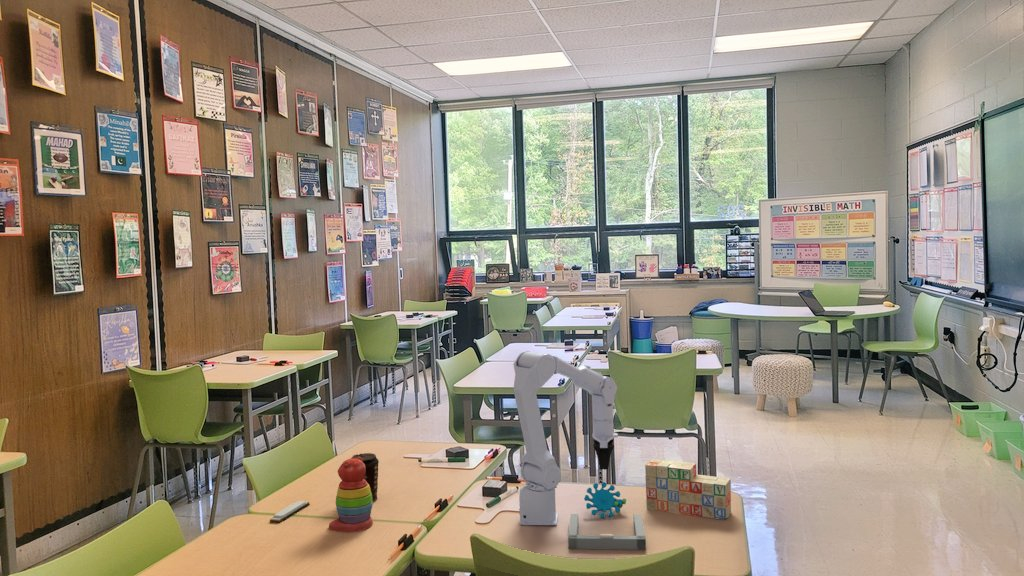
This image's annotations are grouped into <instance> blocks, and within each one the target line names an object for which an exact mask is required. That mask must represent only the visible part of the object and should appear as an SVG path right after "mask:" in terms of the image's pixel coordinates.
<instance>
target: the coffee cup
mask: <svg viewBox="0 0 1024 576" xmlns="http://www.w3.org/2000/svg"><path fill="white" fill-rule="evenodd" d="M358 457H361V458H362V460H363V461H362V462H363V463H364V464H365V467H366V472H365V476H364V478H363V479H365V480H366V481H367V483H368V484H369V486H370V490H371V493H372V501H373V503H375V502H376V501H377V499H378V487H379V486H378V485H379V484H378V483H379V482H378V480H379V463H380V462H379V461H380V460H379V459H378V458H377V455H376V454H375V453H372V452H368V453H367V452H366V453H365V452H364V453H359V454H358V453H357V454H354V455H352V457H351V458H355V459H357V458H358Z"/></svg>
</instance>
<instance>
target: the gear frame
mask: <svg viewBox="0 0 1024 576" xmlns="http://www.w3.org/2000/svg"><path fill="white" fill-rule="evenodd" d="M632 517H633V529H634V535H614V534H613V533H599V534H600V535H599V534H598V535H597V534H596V535H595V534H594V535H592V534H590V535H589V534H579V513H570V516H569V525H568V526H569V527H568V535H567V536H568V539H567V543H568V549H569V550H580V549H581V550H628V551H629V550H632V551H634V550H637V551H646V550H647V542H646V541H647V540H646V534H645V533H646V532H645V528H644V522H643V516H642V514H638V513H637V514H633V516H632Z"/></svg>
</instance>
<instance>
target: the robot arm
mask: <svg viewBox="0 0 1024 576" xmlns="http://www.w3.org/2000/svg"><path fill="white" fill-rule="evenodd" d="M512 365H513V368H514V369H513V370H514V373H515V374H514V380H513V381H514V383H513V394H514V398H515V404H516V410H517V413H518V417H519V423H520V427H521V434H522V438H523V443H524V448H525V453H524V454H522V457H521V458H520V459H521V469H520V472H521V473H520V474H521V477H522V479H523V480H524V481H525V485H523V486H520V487H519V498H518V499H519V509H518V511H519V525H521V526H557V525H558V519H559V518H558V517H559V513H558V512H557V509H556V508H557V507H556V505H557V504H556V489H557V488H558V487H557V486H558V485H559V483H560V480H561V477H562V472H561V469H560V467H559V466H558V465H557V462H556V458H555V457H554V456H553V454H552V453H551V452H550V451H549V449H548V446H547V440H546V435H545V431H544V425H543V421H542V415H541V412H540V411H541V410H540V405H539V400H538V397H537V392H538V391H539V390H541V389H542V387H544V385H545V384H546V383H548V382H549V380H550V379H551V378H552V377H553V376H554V375H557V374H559V375H561V376H563V377H566V378H568V379H571V382H572V384H573V385H574V386H576V387H578V388H580V389H581V390H585V391H587V392H588V394H589V395H591V405H592V406H591V409H592V435H591V436H592V439H593V445H592V446H593V449H594V451H595V453H596V456H597V459H598V465H599V469H600V470H609V468H610V467H609V466H610V461H611V454H612V453H613V450H614V448H615V445H614V444H613V443H614V438H618V437H619V434H618V433H617V432H614V403H615V402H614V401H615V396H616V393H617V390H618V385H617V384H616V381H615V380H614V379H613V378H612V377H610V376H605V375H602V374H603V373H602V372H600V371H594V370H593V369H591V367H592V366H590V365H585V364H584V365H580V366H578V367H576V366H575V365H573V364H570V363H569V362H567V361H565V360H564V359H562V358H560V357H558V356H556V355H555V356H554V355H552V354H549V353H545V354H544V353H539V352H532V351H529V350H524V351H522V352H521V353H519V355H518V356H517V357H516V358H515V361H514V362H513V364H512Z"/></svg>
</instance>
